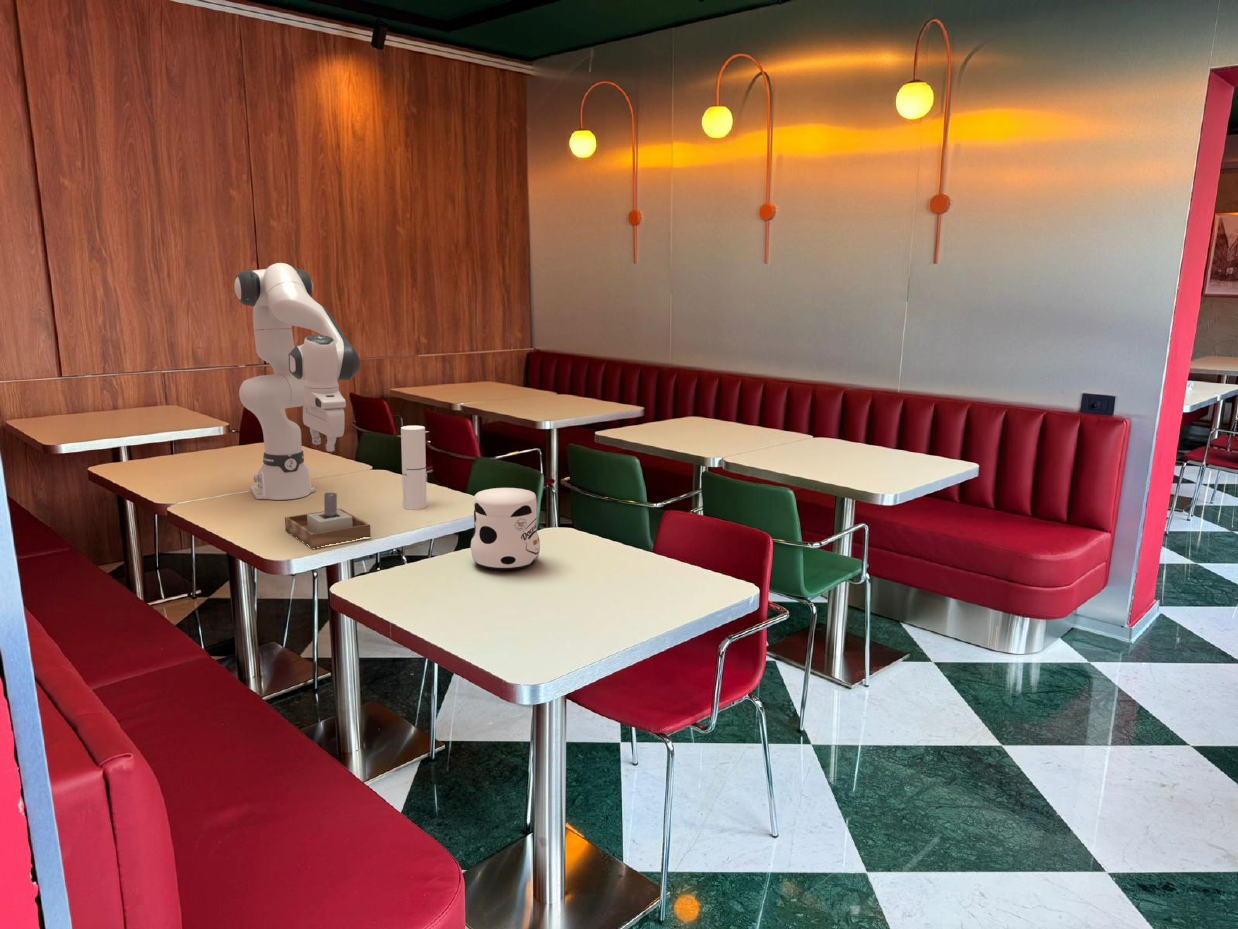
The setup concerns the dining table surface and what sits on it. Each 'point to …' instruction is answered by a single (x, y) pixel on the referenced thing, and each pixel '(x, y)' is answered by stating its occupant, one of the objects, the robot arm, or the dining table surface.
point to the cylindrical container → (413, 467)
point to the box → (300, 530)
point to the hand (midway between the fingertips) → (323, 447)
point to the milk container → (505, 529)
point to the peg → (330, 505)
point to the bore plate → (328, 522)
